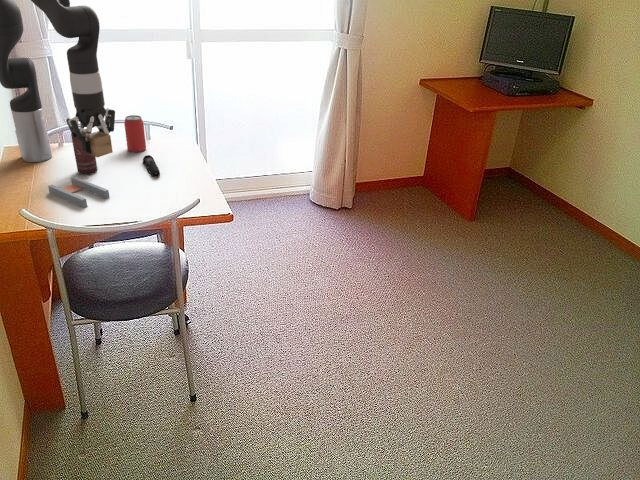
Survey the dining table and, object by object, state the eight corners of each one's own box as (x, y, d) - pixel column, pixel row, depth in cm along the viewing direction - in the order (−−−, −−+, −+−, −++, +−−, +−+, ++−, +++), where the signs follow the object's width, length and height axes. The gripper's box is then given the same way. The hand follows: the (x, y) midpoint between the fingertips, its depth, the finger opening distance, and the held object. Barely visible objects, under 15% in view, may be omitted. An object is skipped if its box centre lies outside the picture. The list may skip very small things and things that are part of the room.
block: (85, 153, 149) (82, 135, 147) (100, 148, 153) (98, 131, 150) (97, 157, 147) (94, 139, 144) (112, 152, 151) (110, 135, 148)
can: (91, 176, 176) (84, 135, 169) (74, 173, 177) (66, 132, 170) (102, 169, 181) (95, 129, 175) (84, 167, 182) (77, 126, 175)
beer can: (124, 151, 197) (120, 119, 191) (132, 145, 202) (128, 113, 196) (141, 153, 196) (137, 121, 190) (149, 147, 201) (146, 115, 196)
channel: (49, 193, 164) (47, 185, 163) (75, 183, 171) (74, 176, 170) (83, 207, 157) (82, 200, 156) (109, 197, 164) (108, 189, 162)
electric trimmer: (151, 179, 178) (150, 171, 176) (142, 162, 190) (141, 153, 188) (162, 178, 179) (161, 169, 178) (153, 161, 191) (152, 152, 189)
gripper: (72, 97, 135) (83, 161, 143) (119, 86, 145) (126, 146, 154) (53, 91, 138) (65, 154, 146) (100, 81, 149) (109, 140, 157)
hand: (96, 150), depth 150 cm, fingers closed on block, 5 cm apart
